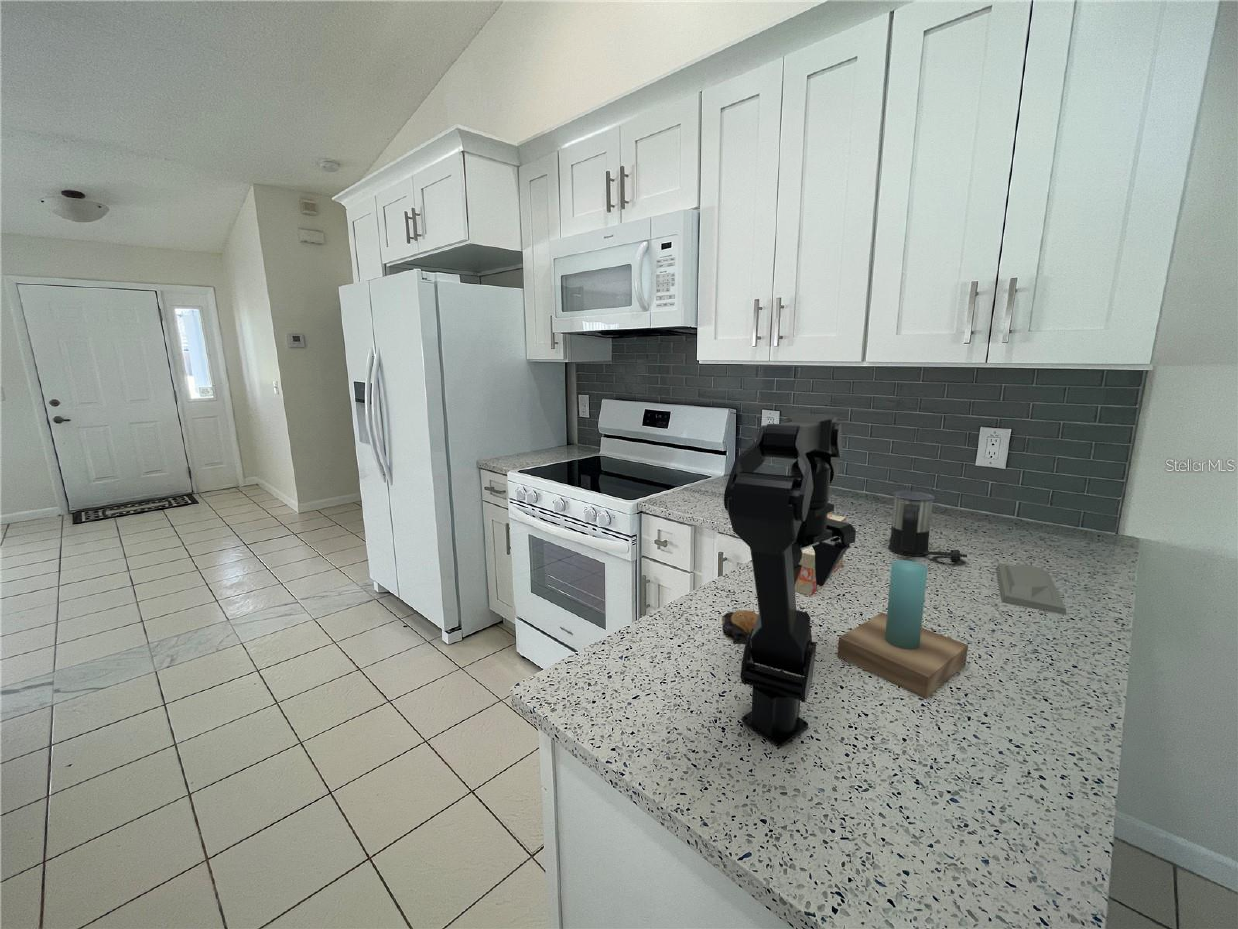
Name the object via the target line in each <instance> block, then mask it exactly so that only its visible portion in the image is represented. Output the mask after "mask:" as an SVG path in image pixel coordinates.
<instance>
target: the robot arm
mask: <svg viewBox="0 0 1238 929" xmlns="http://www.w3.org/2000/svg"><path fill="white" fill-rule="evenodd" d="M837 420H838V418H837V416H836V415H835V414H824V413H796V412H795V413H792V414H790V415H789V416H788V417H787V418H786V420H785V421H784V423H783V422H782V423H771V422H770V423H768V424H764V425H763V424H762V425H761V426H760V429H759V431H758V433H757V437H756V440H755V441H754V443H752V444H751V445H750V446H748V447H747V449H745V450H744V451H743V452H742V453H740V455H738V457H736V458H735V460H734V461H733V464H732V468H731V470H730V474H729V476H728V480H727V481H726V486H725V489H724V494H723V495H724V496H723V505H724V506H723V507H724V509H725V511H727V513H728V518H729V520H730V521H729V522H730V525H731V529H732V531H733V533H734V534H735V535H736V536H737V537H739V539H740V540H741V541H742V542H743V543H745V544H746V545H747V546H748V547H749V550H750V556H751V563H752V570H753V578H754V580H753V581H754V586H755V594H756V600H757V608H758V614H757V615H758V618H757V621H756V624H755V627H753V628H752V630H751V632H750V635H749V636H747V638H746V642H745V644H744V648H743V653H742V658H741V667H740V676H739V677H740V683H741V684H742V685H748V686H751V687H752V690H751V710H750V711H749V712H748V713H746V714H745V715H743V716H742V717H741V722H742V723H743V724H745V725H746V726H748V727H749V728H750V729H752V730H754V731H755V732H756V733H758V734H759V735H761V737H763V738H765V739H766V740H768V741H770V742H771V743H772V744H773V745H775V746H777V747H779V748H780V747H781V748H782V747H783V746H785V745H786V744H788V743H789V742H791V741H792V740H793V739H795V738H796V737H797V736H798V735H800V734H802V733H803V732H805V731H806V730H807V729H808V728H809V722H807V721H806V720H805V719H803V718H801V717H800V716H799V715H800V708H801V703H805V704H806V702H807V700H808V696H809V693H810V691H811V688H812V685H813V681H814V680H813V679H814V670H815V662H816V653H817V643H816V642H815V641H813V635H812V628H811V616H810V615H809V613H808V612H807V611H803V610H797V599H796V591H795V584H796V581H797V578H798V576H799V573H800V570H801V567H802V565H800V564H799V562H800V561H801V559H802V550H804V549H806V548H809V547H811V546H812V547H813V549H814V551H815V577H816V584H817V585H819V586H821V587H824V586H825V584H826V582H827V581H828V580H829V579H830V578H829V576H830V575H831V573H832V571H833V570H834V568H835V567H836V565H837V564H838V562H839V561H840V559H841V558H842V556H843V557H844V555H845V553H846V552H847V551H848V550H849V549H850V548H851V544H853V543H856V535H857V531H856V529H855V528H854V526H853V524H852V523H848V522H846V521H845V522H841V521H837V520H833V519H829V518H827V515H829V514H828V513H832V512H834V511H835V503H829V497H830V485H831V484H832V482H833V481H835V479H836V477H837V475H838V474H839V472H840V467H841V466H840V462H839V459H841V457H843V437H842V434H843V433H842V423H841V422H837ZM766 458H773V459H774V458H775V459H783V460H784V459H785V460H786V459H787V460H794V461H793V462H792V463H790V466H789V475H784V474H774V473H763V472H755V471H756V470H757V469H758V468H759V467H760V466H762V465H763V464H764V462H765V461H766ZM831 576H832V575H831ZM831 576H830V577H831ZM828 578H829V579H828ZM827 579H828V580H827Z"/></svg>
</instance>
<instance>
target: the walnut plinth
mask: <svg viewBox="0 0 1238 929" xmlns="http://www.w3.org/2000/svg"><path fill="white" fill-rule="evenodd" d="M886 620H887V613H884V612H880V613H879V614H877V615H875V616H873V617H871V618H870V619H868V620H867V621H865V622H863V623H861V624H859V625H858V626H856V627H855V628H853V629H851V630H849V631H847V632H846V633H844V634H842V635H840V636H839V637H838V644H837V645H838V646H837V657H838V658H839V659H842V660H844V661H846V662H847V663H850V664H852V665H854V666H857V667H858V668H861V669H863V670H864V671H867V672H869V673H871V674H874V675H876V676H878V677H880V678H882V679H884V680H886V681H888V682H891V683H892V684H894V685H896V686H899V687H900V688H903V689H905V690H908V692H911V693H914V694H916V695H918V696H920V697H922V698H924V699H927V698H929V697H930V696H931V695H932V694H933V693H935V692H936V691H937V690H938V689H939V688H940V687H941V686H942V685H944V684H945V683H946V682H948V681H949V680H950V679H951V678H952V677H953V676H955V675H956V674H957V673H958V672H960V670H961V669H963V668H964V667H965V666H966V665H967V658H968V651H969V644H967V643H964V642H961V641H959V640H956V639H953V638H951V637H948V636H946V635H942V634H940V633H938V632H935V631H932V630H931V629H927V628H923V627H921V637H920V646H919V647H918V648H916V649H902V648H898V647H895V646H893V645H891V644H889V643H888V642H887V641H886V640H885V631H886Z"/></svg>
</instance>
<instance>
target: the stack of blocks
mask: <svg viewBox="0 0 1238 929" xmlns="http://www.w3.org/2000/svg"><path fill="white" fill-rule="evenodd" d="M827 518H829V519H833V520H837V521H841V522H845V523H846V522H847V521H846V520H847V518H846V517H845V516H840V515H835V514H834V515H833V514H828V515H827ZM843 561H844V555H843V556H842V558H841V559H840V561H839V562H838V564H837V565H836V567H835V568H834V570H833V571H832V573H831V575H830V576H829V578H828V579H827V581H828V580H829V579H830V577H832V575H834V574H835V573H836V572H837V571H838V570H839V569H840V568H841V567H842V566H843V563H844V562H843ZM799 564H800V565H802V567H801V570H800V573H799V576H798V578H797V581H796V584H795V593H796V592H797V593H800V594H804V595H807V596H813V595H814V594H815V592H816V591H818V590H819V589H820V588H821V587H822V586H819V585H817V584H816V577H815V551H814V549H813V547H812V546H811V547H809V548H806V549H804V550H802V559H801V561H800V562H799Z"/></svg>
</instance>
